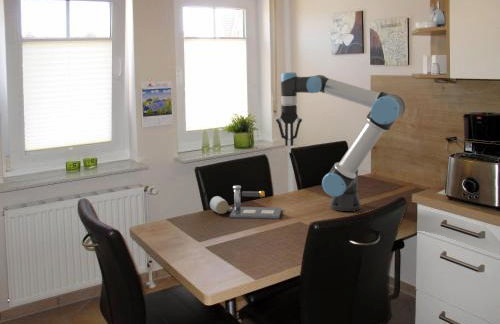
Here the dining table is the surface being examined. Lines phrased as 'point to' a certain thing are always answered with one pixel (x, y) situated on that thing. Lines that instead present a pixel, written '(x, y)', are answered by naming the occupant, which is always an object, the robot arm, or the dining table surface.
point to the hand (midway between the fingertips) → (289, 152)
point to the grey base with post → (252, 209)
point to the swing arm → (253, 193)
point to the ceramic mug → (219, 205)
